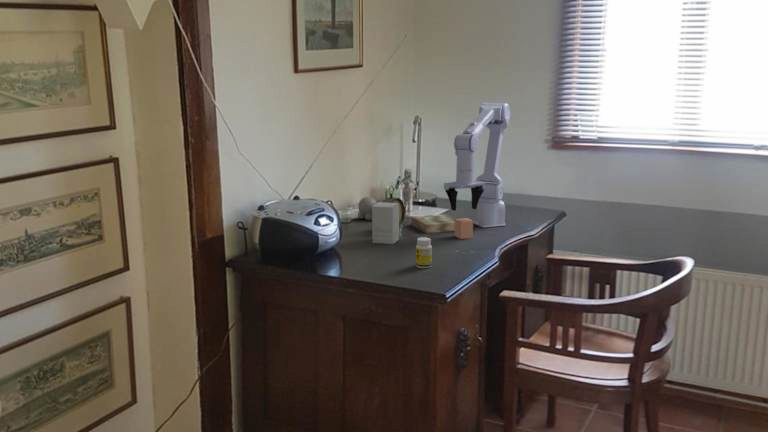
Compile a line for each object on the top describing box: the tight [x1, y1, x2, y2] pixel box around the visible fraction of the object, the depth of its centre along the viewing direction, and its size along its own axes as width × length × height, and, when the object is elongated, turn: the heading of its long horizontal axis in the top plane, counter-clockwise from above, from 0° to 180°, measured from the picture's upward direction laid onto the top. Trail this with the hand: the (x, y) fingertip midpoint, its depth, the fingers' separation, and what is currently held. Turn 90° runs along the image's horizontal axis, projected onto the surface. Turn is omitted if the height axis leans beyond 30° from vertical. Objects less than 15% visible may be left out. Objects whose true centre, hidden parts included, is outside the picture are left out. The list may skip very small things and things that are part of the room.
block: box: [454, 217, 474, 240], centre depth 261 cm, size 4×4×6 cm
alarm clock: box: [382, 185, 406, 229], centre depth 268 cm, size 11×5×16 cm, turn 148°
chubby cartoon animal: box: [357, 196, 384, 221], centre depth 286 cm, size 7×12×8 cm, turn 60°
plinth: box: [410, 213, 457, 234], centre depth 274 cm, size 14×14×3 cm
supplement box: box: [371, 201, 400, 245], centre depth 254 cm, size 7×7×13 cm
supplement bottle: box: [415, 236, 433, 269], centre depth 226 cm, size 5×5×8 cm
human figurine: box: [393, 168, 423, 217], centre depth 293 cm, size 12×4×18 cm, turn 68°
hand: (463, 209), depth 259 cm, fingers open, 7 cm apart
